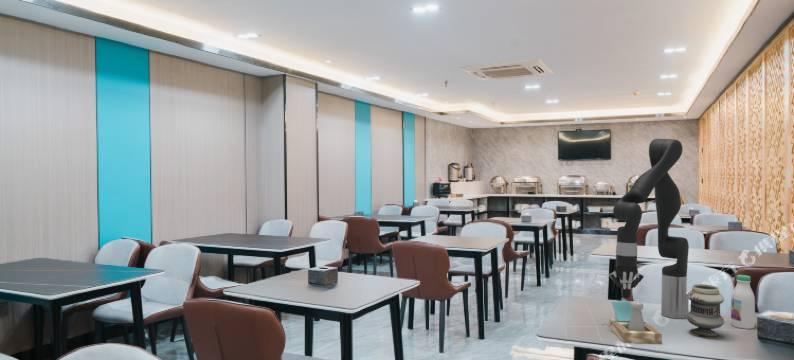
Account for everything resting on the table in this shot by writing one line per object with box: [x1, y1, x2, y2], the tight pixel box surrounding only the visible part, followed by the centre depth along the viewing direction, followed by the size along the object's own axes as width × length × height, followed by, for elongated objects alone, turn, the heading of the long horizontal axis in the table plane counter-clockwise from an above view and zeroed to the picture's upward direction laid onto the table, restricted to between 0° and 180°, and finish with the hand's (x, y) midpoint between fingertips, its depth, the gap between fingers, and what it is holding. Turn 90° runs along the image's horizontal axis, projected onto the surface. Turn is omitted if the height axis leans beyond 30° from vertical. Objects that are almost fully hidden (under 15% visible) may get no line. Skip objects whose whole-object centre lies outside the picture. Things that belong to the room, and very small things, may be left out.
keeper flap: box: [611, 300, 632, 322], centre depth 202 cm, size 8×9×1 cm
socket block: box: [609, 318, 663, 345], centre depth 195 cm, size 13×22×4 cm, turn 175°
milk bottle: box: [730, 274, 756, 330], centre depth 204 cm, size 8×8×20 cm
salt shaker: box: [628, 300, 645, 331], centre depth 191 cm, size 6×6×13 cm
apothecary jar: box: [686, 283, 725, 339], centre depth 194 cm, size 12×12×18 cm
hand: (625, 298), depth 202 cm, fingers closed
